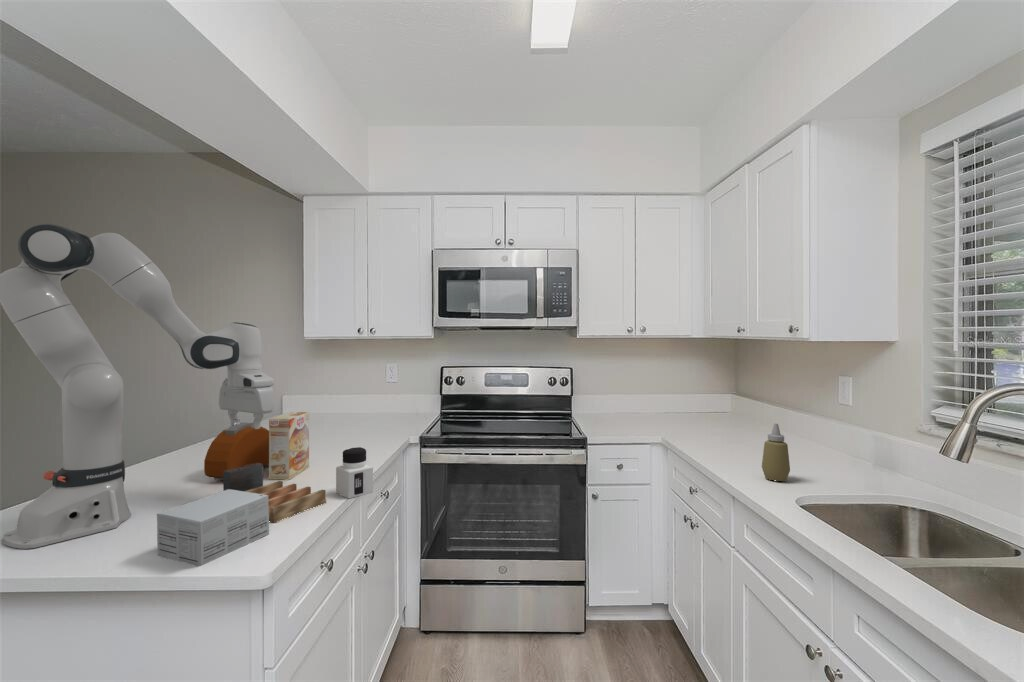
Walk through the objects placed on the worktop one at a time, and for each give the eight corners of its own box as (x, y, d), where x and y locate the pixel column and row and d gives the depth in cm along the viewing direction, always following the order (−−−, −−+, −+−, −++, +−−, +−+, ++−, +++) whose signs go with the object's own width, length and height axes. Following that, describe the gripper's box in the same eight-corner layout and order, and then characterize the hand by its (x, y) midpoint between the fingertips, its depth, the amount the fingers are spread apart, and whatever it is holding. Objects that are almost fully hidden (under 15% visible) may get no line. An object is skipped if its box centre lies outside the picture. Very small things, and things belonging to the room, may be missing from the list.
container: (373, 492, 142) (373, 448, 142) (348, 499, 136) (348, 453, 136) (359, 487, 147) (359, 444, 147) (335, 493, 141) (335, 448, 141)
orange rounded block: (256, 463, 174) (256, 417, 174) (278, 464, 172) (278, 417, 172) (202, 482, 151) (202, 429, 151) (227, 484, 149) (227, 430, 149)
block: (230, 501, 134) (229, 472, 134) (223, 499, 136) (223, 470, 136) (262, 490, 143) (262, 463, 143) (256, 489, 145) (256, 462, 145)
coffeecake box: (290, 480, 154) (289, 418, 154) (267, 479, 154) (267, 418, 154) (310, 467, 169) (310, 411, 169) (289, 467, 169) (289, 411, 169)
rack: (274, 522, 119) (274, 508, 119) (225, 509, 127) (225, 496, 127) (326, 502, 133) (326, 490, 133) (279, 492, 142) (279, 480, 142)
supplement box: (228, 527, 117) (228, 488, 117) (269, 535, 112) (269, 494, 112) (155, 556, 101) (154, 512, 101) (199, 567, 96) (199, 520, 96)
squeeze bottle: (790, 478, 157) (791, 423, 157) (789, 485, 150) (789, 427, 150) (762, 474, 161) (763, 420, 161) (760, 480, 154) (760, 424, 154)
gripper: (212, 378, 142) (212, 425, 142) (257, 381, 132) (257, 432, 132) (233, 376, 147) (233, 422, 147) (278, 379, 138) (278, 428, 138)
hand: (245, 427), depth 140 cm, fingers open, 8 cm apart
